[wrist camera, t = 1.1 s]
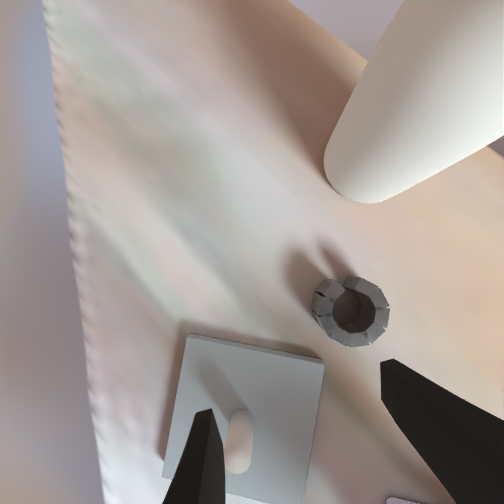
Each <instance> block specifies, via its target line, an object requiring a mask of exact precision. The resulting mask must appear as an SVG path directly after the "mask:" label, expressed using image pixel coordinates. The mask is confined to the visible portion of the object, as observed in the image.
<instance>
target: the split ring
mask: <svg viewBox="0 0 504 504" xmlns="http://www.w3.org/2000/svg"><path fill="white" fill-rule="evenodd" d="M343 286H345V287H347V288H349V289H351V290H353V291H355V292H356V293H357V295H358V297H359V299H360V301H361V309H360V315H359V316H357V317H356V318H355V319H354V320H353V321H352V322H351V323H344V324H338V323H336V322H335V320H334V318H333V316H332V311H333V305H334V301H335V300H336V299H337V298H338V297H339V296H340V295H341V294H342V293H343V292H344V291H345V289H344V288H343V287H342V286H341V285H340V284H339V283H338V282H337V281H335V280H331V279H326V280H325V281H324V282H323V283H322V284H321V285H320V286H319V287H318V288H317V289H316V291H317V292H318V293H317V292H314V297H313V303H312V309H313V310H312V311H313V313H314V315H315V317H316V319H317V321H318V323H319V325H320V327H321V328H322V329H323V330H324V331H325V333H326V334H327V335H328V336H329V337H330V338H332V339H334V340H336V341H337V342H339V343H341V344H343V345H345V346H347V345H348V346H349V347H356V346H364V345H369V342H371V343H373V342H374V341H375V340H376V339H377V338H378V337H379V336H380V335H381V334H383V333H384V332H385V331H386V330H385V329H384V328H383V327H386V328H387V325H388V319H389V312H390V309H389V308H386V307H388V306H389V304H388V302H387V300H386V298H385V296H384V294H383V293H382V291H381V289H380V288H378V286H376V285H374V284H373V283H371V282H369V281H367V280H365V279H363V278H361V277H354V276H348V277H347V279H346V281H345V283H344V285H343Z"/></svg>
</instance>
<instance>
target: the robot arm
mask: <svg viewBox="0 0 504 504" xmlns="http://www.w3.org/2000/svg"><path fill="white" fill-rule="evenodd" d="M380 371H381V399H382V401H383V403H384V404H385V406H386V408H387V409H388V411H389V413H390V414H391V416H392V417H393V419H394V421H395V422H396V424H397V425H398V427H399V428H400V429H401V431H402V432H403V433H404V435H405V436H406V437H407V439H408V440H409V441H410V443H411V444H412V445H413V447H414V448H415V449H416V450H417V452H418V453H419V454H420V456H421V457H422V458H423V460H424V461H425V462H426V463H427V465H428V466H429V467H430V469H431V470H432V471H433V473H434V474H435V475H436V476H437V478H438V479H439V480H440V482H441V483H442V484H443V486H444V487H445V488H446V489H447V491H448V492H449V494H450V495H451V496H452V498H453V499H454V500H455V502H456V503H457V504H504V420H502V419H500V418H498V417H496V416H494V415H492V414H490V413H488V412H486V411H484V410H482V409H480V408H478V407H477V406H475V405H473V404H471V403H469V402H467V401H465V400H464V399H462V398H460V397H458V396H456V395H455V394H453V393H451V392H449V391H448V390H446V389H444V388H442V387H441V386H439V385H437V384H435V383H434V382H432V381H430V380H429V379H427V378H425V377H424V376H422V375H420V374H419V373H417V372H415V371H414V370H412V369H410V368H409V367H407V366H405V365H404V364H402V363H400V362H399V361H397V360H395V359H390V360H387V361H383V362H380ZM162 504H225V463H224V450H223V443H222V439H221V436H220V433H219V430H218V426H217V423H216V420H215V416H214V413H213V410H212V408H210V409H207V410H203V411H199V412H197V413H196V414H195V416H194V419H193V423H192V426H191V429H190V432H189V435H188V438H187V441H186V444H185V447H184V450H183V453H182V456H181V458H180V461H179V464H178V466H177V469H176V472H175V474H174V477H173V479H172V482H171V484H170V487H169V489H168V492H167V494H166V496H165V499H164V501H163V503H162ZM386 504H419V503H415V502H411V501H406V500H402V499H398V498H394V497H390V498H388V499H387V501H386Z"/></svg>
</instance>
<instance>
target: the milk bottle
mask: <svg viewBox="0 0 504 504" xmlns="http://www.w3.org/2000/svg"><path fill="white" fill-rule="evenodd" d="M503 135H504V0H405V1H404V2H403V3H402V5H401V6H400V8H399V9H398V11H397V13H396V14H395V16H394V17H393V19H392V20H391V22H390V23H389V25H388V27H387V28H386V30H385V32H384V34H383V36H382V38H381V39H380V41H379V43H378V45H377V46H376V48H375V50H374V52H373V54H372V55H371V57H370V59H369V61H368V63H367V65H366V67H365V69H364V71H363V73H362V75H361V77H360V79H359V81H358V83H357V85H356V86H355V88H354V90H353V92H352V94H351V96H350V98H349V100H348V102H347V104H346V106H345V108H344V110H343V112H342V114H341V116H340V118H339V121H338V123H337V125H336V127H335V129H334V131H333V133H332V135H331V137H330V139H329V141H328V144H327V146H326V149H325V153H324V170H325V174H326V176H327V179H328V181H329V182H330V184H331V185H332V187H333V188H334V189H335V190H336V191H337V192H338V193H339V194H341V195H342V196H343V197H345V198H347V199H349V200H352V201H355V202H359V203H377V202H381V201H384V200H386V199H388V198H391V197H393V196H395V195H397V194H399V193H401V192H402V191H404V190H406V189H408V188H410V187H412V186H414V185H416V184H417V183H419V182H421V181H423V180H425V179H427V178H429V177H431V176H432V175H434V174H436V173H438V172H440V171H442V170H443V169H445V168H447V167H449V166H451V165H453V164H454V163H456V162H458V161H460V160H462V159H463V158H465V157H467V156H469V155H471V154H473V153H474V152H476V151H478V150H480V149H481V148H483V147H485V146H486V145H488V144H490V143H491V142H493V141H495V140H496V139H498V138H499V137H501V136H503Z"/></svg>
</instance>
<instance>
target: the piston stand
mask: <svg viewBox="0 0 504 504" xmlns="http://www.w3.org/2000/svg"><path fill="white" fill-rule="evenodd" d="M324 368H325V364H324V362H323V360H322V359H318V358H313V357H308V356H303V355H298V354H293V353H288V352H283V351H278V350H273V349H268V348H263V347H258V346H253V345H247V344H242V343H237V342H232V341H227V340H222V339H217V338H212V337H207V336H202V335H197V334H192V333H191V334H190V335H189V336H187V339H186V344H185V350H184V355H183V361H182V366H181V372H180V377H179V383H178V388H177V394H176V399H175V405H174V410H173V416H172V422H171V427H170V433H169V438H168V444H167V449H166V455H165V460H164V466H163V471H162V477H163V478H167V479H171V480H172V479H173V477H174V474H175V472H176V469H177V466H178V464H179V461H180V458H181V456H182V453H183V450H184V447H185V444H186V441H187V438H188V435H189V432H190V429H191V426H192V423H193V419H194V416H195V414H196V413H197V412H199V411H203V410H207V409H210V408H212V410H213V413H214V416H215V420H216V423H217V426H218V430H219V433H220V436H221V439H222V443H223V450H224V463H225V493H229V494H233V495H237V496H241V497H245V498H249V499H253V500H257V501H262V502H266V503H270V504H303V499H304V492H305V486H306V480H307V474H308V468H309V461H310V455H311V449H312V443H313V436H314V430H315V424H316V418H317V412H318V405H319V399H320V393H321V387H322V381H323V374H324Z"/></svg>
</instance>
